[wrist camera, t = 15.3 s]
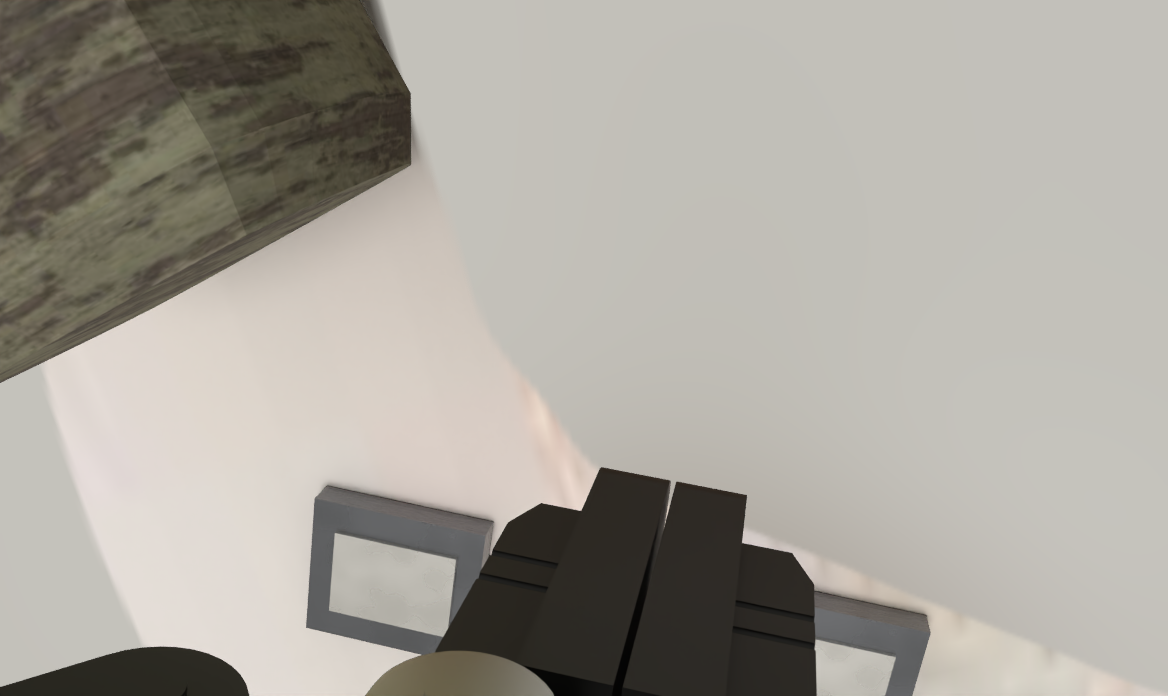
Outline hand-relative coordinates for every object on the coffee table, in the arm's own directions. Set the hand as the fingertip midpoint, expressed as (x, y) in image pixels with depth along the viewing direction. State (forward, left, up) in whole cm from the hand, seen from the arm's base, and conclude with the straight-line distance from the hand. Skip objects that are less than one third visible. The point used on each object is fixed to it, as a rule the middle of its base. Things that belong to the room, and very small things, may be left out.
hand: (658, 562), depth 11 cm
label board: (+2, +18, -27) cm, 33 cm away
